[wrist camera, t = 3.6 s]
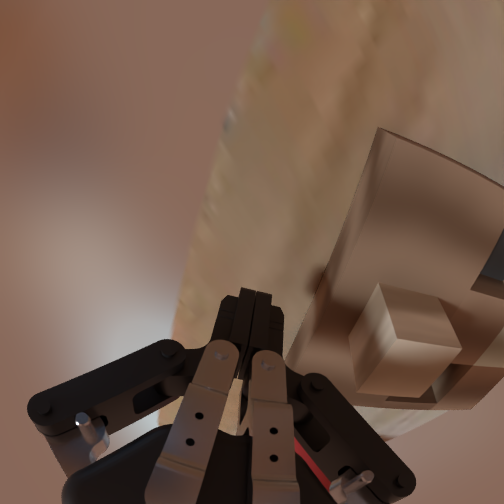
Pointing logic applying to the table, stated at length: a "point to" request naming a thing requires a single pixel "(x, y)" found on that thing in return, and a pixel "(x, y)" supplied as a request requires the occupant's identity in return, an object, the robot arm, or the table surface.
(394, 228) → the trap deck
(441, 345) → the maple block
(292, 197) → the table surface
